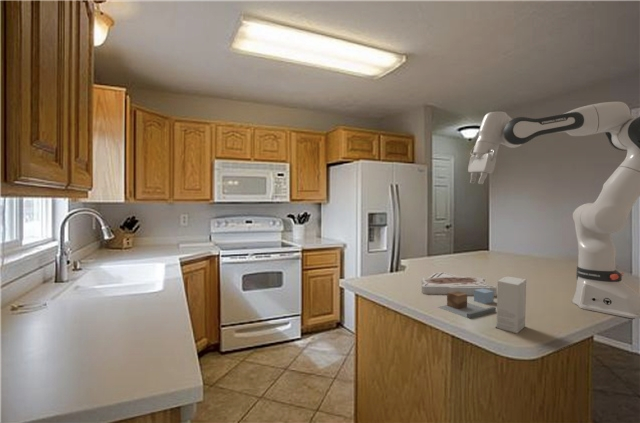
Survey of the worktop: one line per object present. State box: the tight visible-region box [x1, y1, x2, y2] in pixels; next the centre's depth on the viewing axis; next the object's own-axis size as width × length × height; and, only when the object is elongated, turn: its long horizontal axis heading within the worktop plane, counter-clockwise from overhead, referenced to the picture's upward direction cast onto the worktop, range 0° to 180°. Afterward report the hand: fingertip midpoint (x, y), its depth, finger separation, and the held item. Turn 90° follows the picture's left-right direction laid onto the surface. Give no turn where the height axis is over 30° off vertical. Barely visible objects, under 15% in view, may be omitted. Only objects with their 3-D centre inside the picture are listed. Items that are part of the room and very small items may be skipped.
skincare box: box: [496, 276, 527, 334], centre depth 109 cm, size 8×7×16 cm
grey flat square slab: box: [437, 302, 497, 319], centre depth 126 cm, size 14×14×2 cm
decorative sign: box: [421, 271, 498, 297], centre depth 159 cm, size 32×4×30 cm
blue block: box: [473, 288, 495, 305], centre depth 135 cm, size 5×5×5 cm
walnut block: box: [446, 291, 468, 309], centre depth 129 cm, size 5×5×5 cm
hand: (476, 183), depth 142 cm, fingers open, 8 cm apart
